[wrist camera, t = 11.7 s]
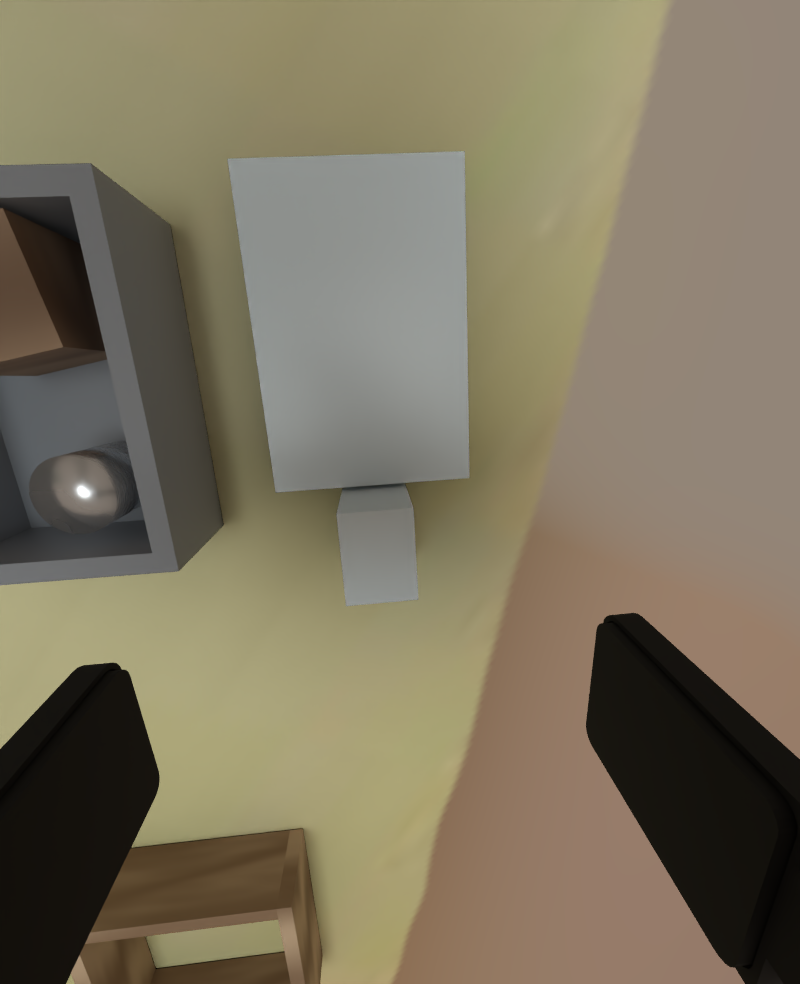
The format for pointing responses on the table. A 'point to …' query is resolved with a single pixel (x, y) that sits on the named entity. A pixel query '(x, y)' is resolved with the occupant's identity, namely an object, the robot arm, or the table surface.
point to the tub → (109, 392)
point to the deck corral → (207, 911)
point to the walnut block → (44, 301)
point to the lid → (360, 339)
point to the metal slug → (85, 488)
